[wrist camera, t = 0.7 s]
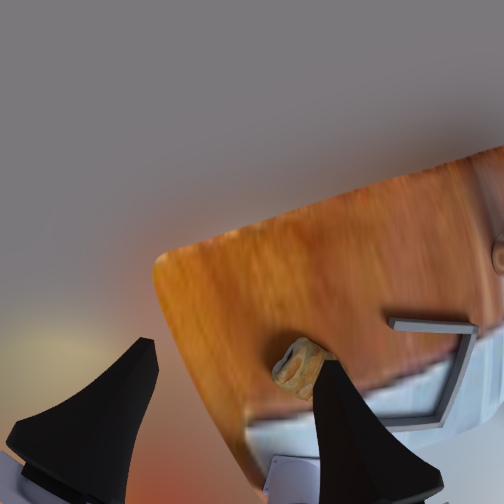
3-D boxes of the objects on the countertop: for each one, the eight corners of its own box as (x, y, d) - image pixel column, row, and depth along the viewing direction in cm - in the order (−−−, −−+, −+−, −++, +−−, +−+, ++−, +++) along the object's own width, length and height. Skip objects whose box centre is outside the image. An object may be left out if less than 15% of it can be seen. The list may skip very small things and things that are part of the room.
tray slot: (437, 420, 27) (442, 427, 25) (357, 424, 29) (360, 433, 27) (470, 322, 27) (478, 326, 25) (389, 317, 29) (395, 321, 27)
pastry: (362, 366, 29) (370, 380, 26) (329, 408, 30) (333, 424, 26) (298, 330, 30) (299, 341, 27) (266, 375, 31) (263, 390, 27)
